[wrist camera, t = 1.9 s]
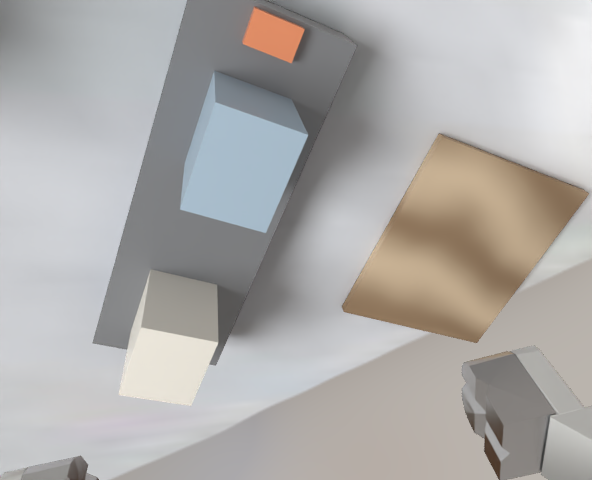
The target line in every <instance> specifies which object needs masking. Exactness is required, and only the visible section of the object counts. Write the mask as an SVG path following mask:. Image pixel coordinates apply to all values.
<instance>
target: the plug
mask: <svg viewBox="0 0 592 480" xmlns="http://www.w3.org/2000/svg"><path fill="white" fill-rule="evenodd" d="M217 345H218V299H217V285H216V284H212V283H208V282H203V281H199V280H195V279H190V278H186V277H182V276H178V275H173V274H169V273H165V272H160V271H156V270H152V269H151V270H150V273H149V276H148V279H147V283H146V286H145V289H144V292H143V295H142V298H141V301H140V304H139V308H138V311H137V314H136V317H135V320H134V323H133V326H132V329H131V333H130V338H129V343H128V349H127V354H126V359H125V364H124V369H123V375H122V380H121V385H120V390H119V395H122V396H128V397H135V398H142V399H148V400H155V401H161V402H168V403H175V404H181V405H188V406H191V405H192V403H193V400H194V398H195V396H196V393H197V391H198V389H199V386H200V384H201V382H202V379H203V377H204V375H205V373H206V370H207V368H208V366H209V363H210V361H211V359H212V356H213V354H214V352H215V349H216V347H217Z"/></svg>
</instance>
